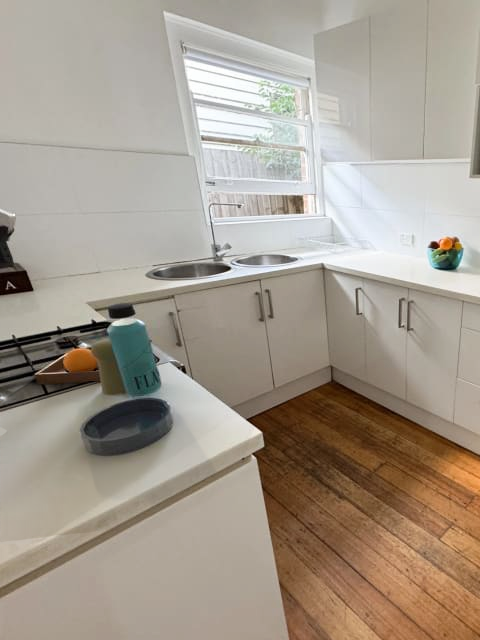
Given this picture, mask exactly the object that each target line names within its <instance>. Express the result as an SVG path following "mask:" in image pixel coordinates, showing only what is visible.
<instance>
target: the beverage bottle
mask: <svg viewBox="0 0 480 640" xmlns="http://www.w3.org/2000/svg"><path fill="white" fill-rule="evenodd" d="M107 312H108V317H109V319H113V320H114V319H115V321H113V322H111V324H109V326H107V328H106V333H107V335H108V339H110V341H111V344H112V347H113V350H114V353H115V357H116V360H117V363H118V366H119V370H120V373H121V376H122V377H121V378H122V381H123V383H124V386H125V389H126V392H125V393H127V395H128V396H130V397H144V396H148V395H151V394H153V393H156V392H157V391H159V390H160V389H161V387H162V379H161V377H162V376H161V374H160V370H159V368H158V365H157V361H156V357H155V356H154V355H155V354H154V350H153V346H152V341H151V338H150V336H149V333H148V330H147V326H146V323H145V322H144V321H142V320H140V319H137V318H135V317H134V318H133V316H135V315H136V314H137V313H136V310H135V308H134V306H133V304H132V303H130V302H120V303H115V304H111V305H109V306H107Z"/></svg>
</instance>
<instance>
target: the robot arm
mask: <svg viewBox="0 0 480 640" xmlns="http://www.w3.org/2000/svg"><path fill="white" fill-rule="evenodd" d="M16 219H17V217H16V215H15V214H14V213H11V212H9V211H7V210H4V209H2V208H0V270H2V269H6V268H9V267H13V266H14V265H15V262H14V258H13V255H12V252H11V249H10V248H9V244H8V242H9V241H11V238H10V237H12V235H13V234H14V232H15V228H14V227H15V225H16Z"/></svg>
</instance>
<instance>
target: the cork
mask: <svg viewBox="0 0 480 640" xmlns="http://www.w3.org/2000/svg"><path fill="white" fill-rule="evenodd" d="M90 350H91V353H92V355H93V356H94V357H95V358H97V360H98V367H99V373H100V380H101V381H100V385H101V393H102V392H103V393H102V394H104V395H107V396H113V395H119V394H124V393H127V392H126V389H125V386H124V383H123V381H122V378H121V377H122V376H121V373H120V370H119V366H118V363H117V360H116V357H115V353H114V350H113V347H112V344H111V341H110V338H107V339H105V338H104V339H101V340H98V341H95V342H94V343H93V344H92V345H91V346H90Z"/></svg>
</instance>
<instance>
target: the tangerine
mask: <svg viewBox="0 0 480 640" xmlns="http://www.w3.org/2000/svg"><path fill="white" fill-rule="evenodd" d="M65 354H66V353H65ZM63 364H64V366H65V368H66V369H67V370H68V371H69V372H76V371H93V370H94V369H95V368H96V367H97V365H98V360H97V358H95V357H94V356H93V355H92V353H91V349H89V348H85V347H79V348H74V349H72V350H70V351H68V352H67V354H66V356H65V357H64V360H63Z"/></svg>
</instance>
